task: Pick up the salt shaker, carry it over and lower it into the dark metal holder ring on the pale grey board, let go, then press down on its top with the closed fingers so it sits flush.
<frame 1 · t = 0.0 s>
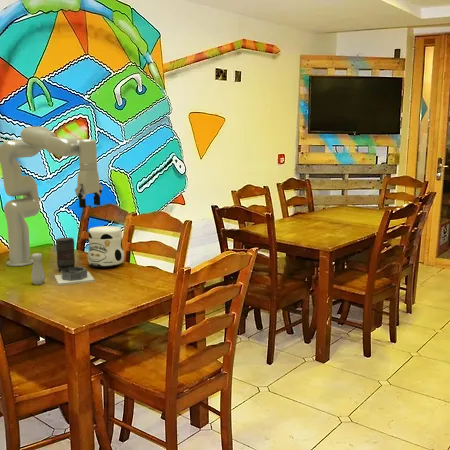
hand: (90, 206, 244), 31 cm above the table, tool pointing down, fingers open, 9 cm apart
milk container: (106, 265, 266), on the table
camera lens: (66, 270, 257), on the table
salt shaker: (38, 283, 235), on the table
holder ring: (74, 273, 241), on the holder board, point 3 cm above the table
holder board: (74, 279, 241), on the table
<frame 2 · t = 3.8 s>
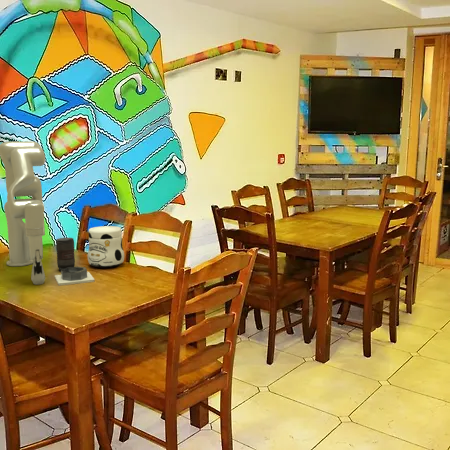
hand: (37, 273, 235), 4 cm above the table, tool pointing down, fingers closed on salt shaker, 3 cm apart
salt shaker: (38, 283, 235), on the table, touching gripper
everything else where it was.
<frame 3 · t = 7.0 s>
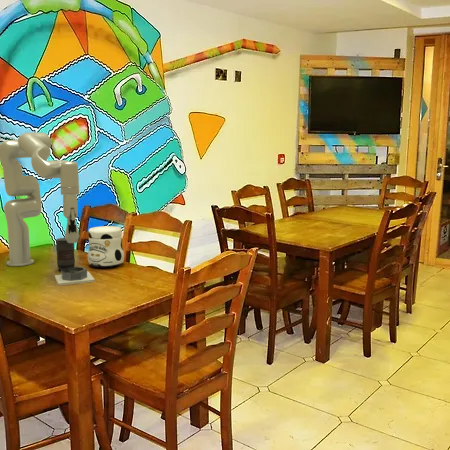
hand: (71, 232, 238), 21 cm above the table, tool pointing down, fingers closed on salt shaker, 3 cm apart
salt shaker: (72, 242, 238), point 16 cm above the table, touching gripper
everything else where it was.
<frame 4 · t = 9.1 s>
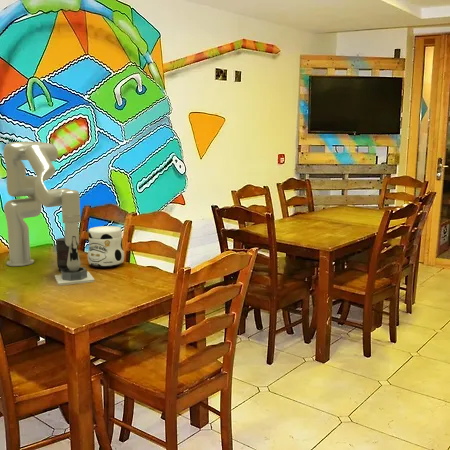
hand: (73, 260, 240), 9 cm above the table, tool pointing down, fingers closed on salt shaker, 3 cm apart
salt shaker: (74, 270, 240), point 4 cm above the table, touching gripper
everything else where it was.
when the fingers open (5 cm above the table, at t = 10.1 s): salt shaker stays where it is, resting on holder board.
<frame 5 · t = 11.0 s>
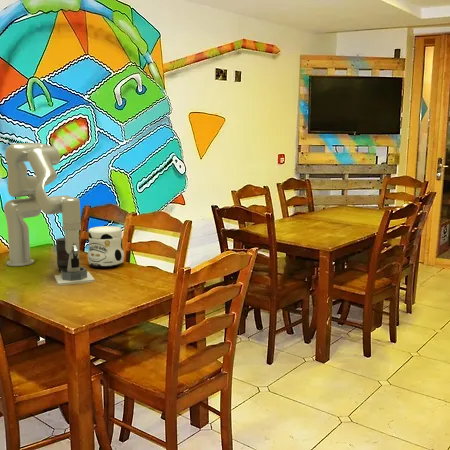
hand: (73, 264, 240), 7 cm above the table, tool pointing down, fingers open, 9 cm apart
salt shaker: (73, 277, 241), point 1 cm above the table, touching holder board
everything else where it was.
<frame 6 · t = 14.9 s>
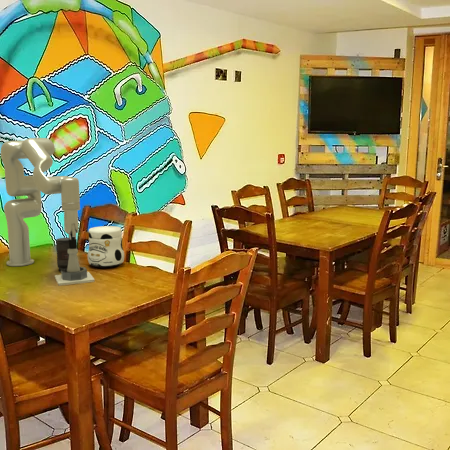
hand: (72, 248, 239), 14 cm above the table, tool pointing down, fingers closed
salt shaker: (73, 277, 241), point 1 cm above the table, touching gripper, holder board
everything else where it was.
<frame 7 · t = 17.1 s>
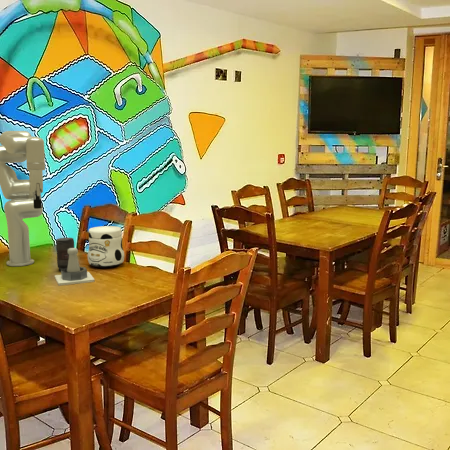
hand: (37, 208, 243), 31 cm above the table, tool pointing down, fingers closed
salt shaker: (73, 277, 241), point 1 cm above the table, touching holder board
everything else where it was.
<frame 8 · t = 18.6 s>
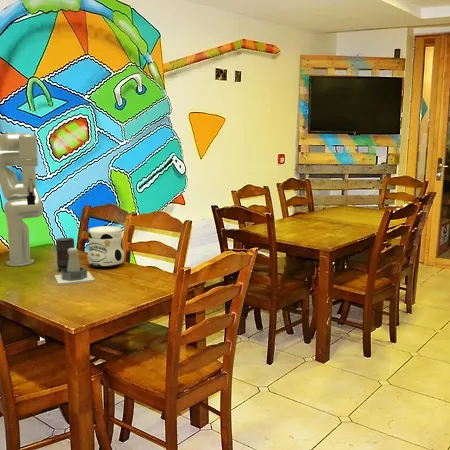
hand: (31, 204, 243), 32 cm above the table, tool pointing down, fingers closed
nothing on the table moved.
at the end: salt shaker 0.2 cm off-centre on the holder ring, point 0.8 cm above the holder ring's base; salt shaker tilted 0°; the gripper is holding nothing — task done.
